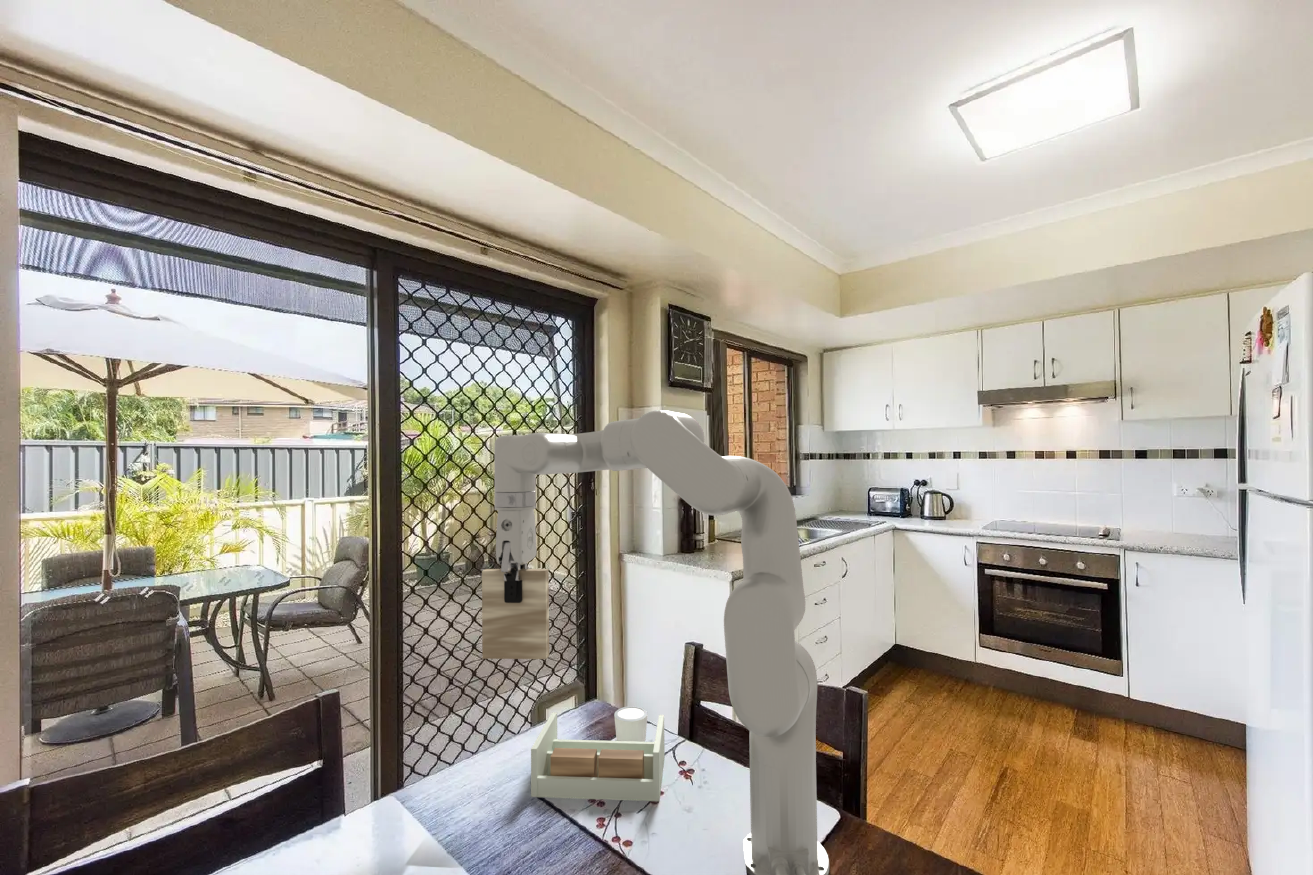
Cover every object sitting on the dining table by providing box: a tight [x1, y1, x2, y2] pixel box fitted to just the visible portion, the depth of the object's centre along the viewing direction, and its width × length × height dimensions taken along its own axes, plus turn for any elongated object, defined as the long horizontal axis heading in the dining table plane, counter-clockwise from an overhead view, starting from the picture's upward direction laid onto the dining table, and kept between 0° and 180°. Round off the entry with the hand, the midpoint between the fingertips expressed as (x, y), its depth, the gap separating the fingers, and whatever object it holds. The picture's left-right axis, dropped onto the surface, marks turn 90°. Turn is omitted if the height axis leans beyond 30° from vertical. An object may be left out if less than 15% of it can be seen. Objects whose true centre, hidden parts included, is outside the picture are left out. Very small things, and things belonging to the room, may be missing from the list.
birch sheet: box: [481, 568, 550, 660], centre depth 105 cm, size 2×12×16 cm, turn 86°
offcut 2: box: [598, 749, 644, 779], centre depth 98 cm, size 3×8×6 cm, turn 86°
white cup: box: [613, 706, 649, 742], centre depth 115 cm, size 7×7×7 cm
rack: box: [530, 711, 666, 802], centre depth 103 cm, size 14×22×10 cm, turn 86°
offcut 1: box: [551, 748, 597, 777], centre depth 99 cm, size 3×8×6 cm, turn 86°
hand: (515, 599), depth 105 cm, fingers closed on birch sheet, 2 cm apart
